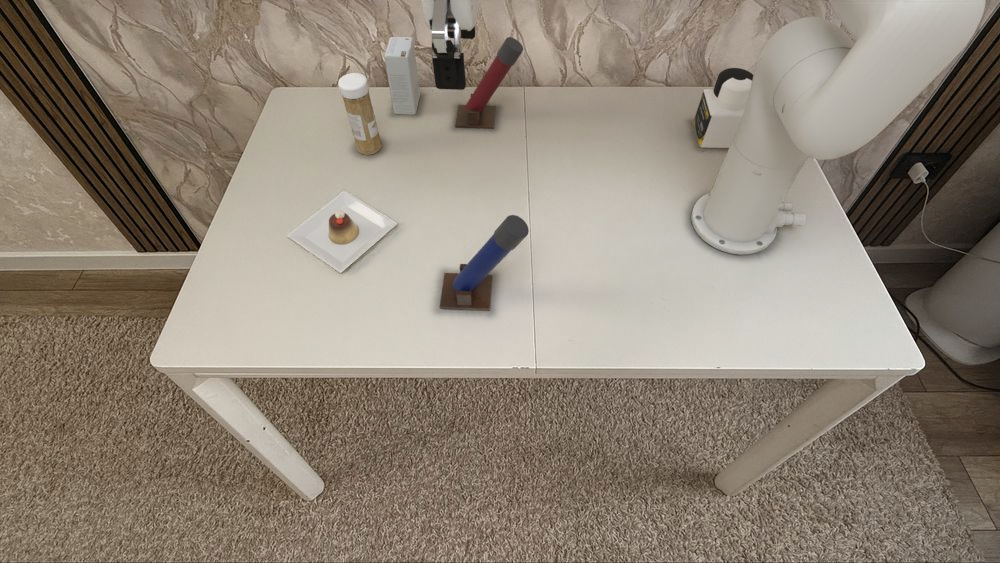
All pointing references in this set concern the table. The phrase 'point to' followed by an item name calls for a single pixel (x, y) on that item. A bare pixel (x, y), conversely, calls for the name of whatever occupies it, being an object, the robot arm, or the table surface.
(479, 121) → the stand far
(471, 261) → the marker
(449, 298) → the stand near
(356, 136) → the sprinkles bottle
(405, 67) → the cosmetic box
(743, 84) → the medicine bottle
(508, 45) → the marker far
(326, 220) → the dessert
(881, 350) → the table surface
